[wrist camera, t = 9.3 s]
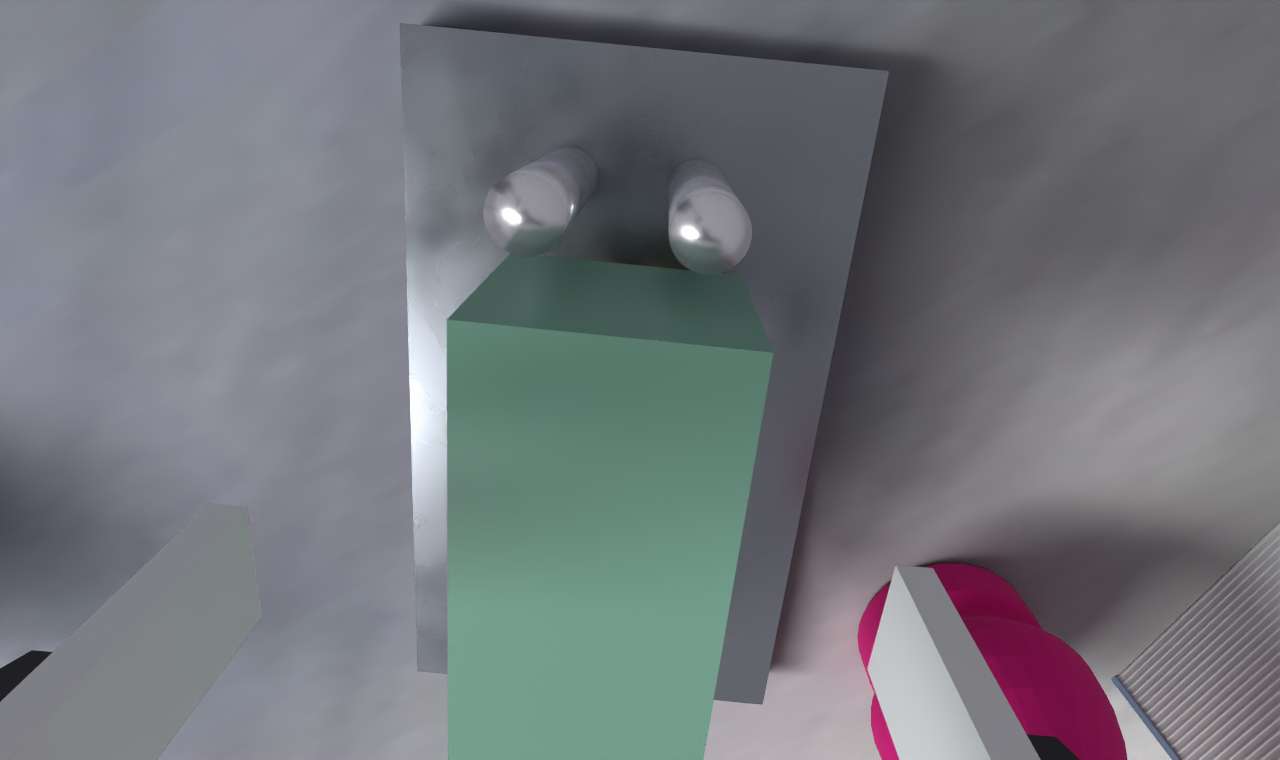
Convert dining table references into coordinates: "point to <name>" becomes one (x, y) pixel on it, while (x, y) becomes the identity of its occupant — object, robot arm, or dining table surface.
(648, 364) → the mint green rectangular block
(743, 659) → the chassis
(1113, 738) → the pepper mill
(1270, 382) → the dining table surface
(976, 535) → the dining table surface
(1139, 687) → the warehouse
